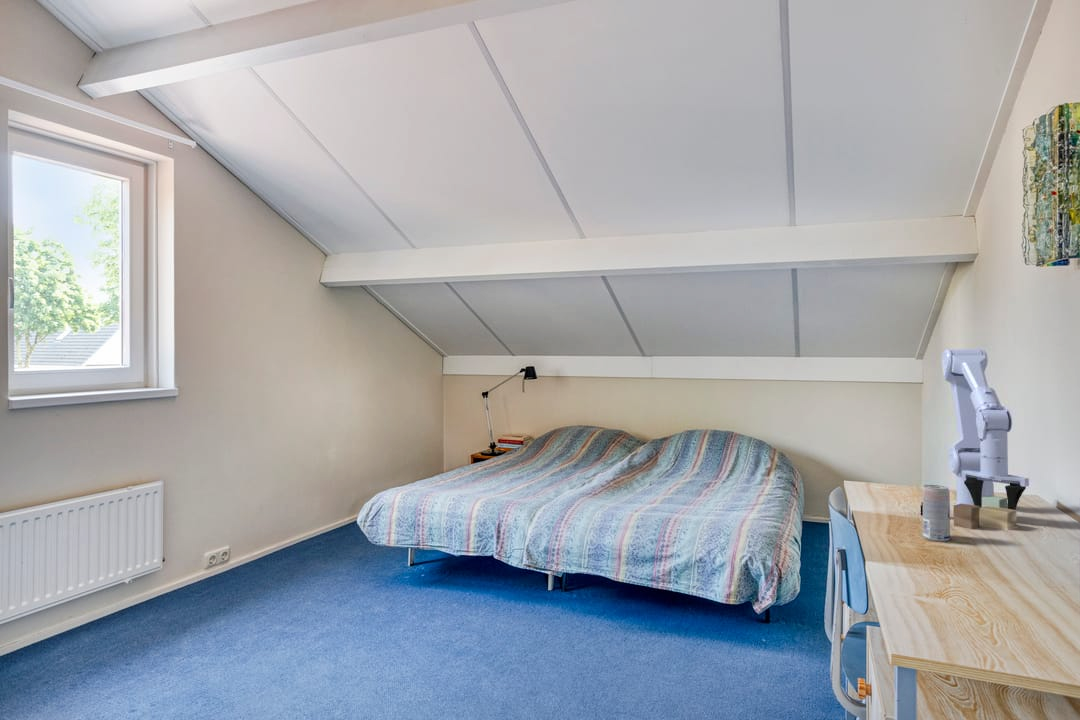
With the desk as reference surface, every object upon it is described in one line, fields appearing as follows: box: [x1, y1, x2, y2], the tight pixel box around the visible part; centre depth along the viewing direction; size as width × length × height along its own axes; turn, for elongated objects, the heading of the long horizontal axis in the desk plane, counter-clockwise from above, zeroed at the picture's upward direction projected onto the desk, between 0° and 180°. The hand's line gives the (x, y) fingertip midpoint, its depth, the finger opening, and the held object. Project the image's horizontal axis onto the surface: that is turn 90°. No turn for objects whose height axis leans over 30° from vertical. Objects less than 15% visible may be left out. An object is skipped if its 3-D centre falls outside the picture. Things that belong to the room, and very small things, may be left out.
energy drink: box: [922, 484, 951, 543], centre depth 153 cm, size 5×5×12 cm
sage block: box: [982, 495, 1008, 509], centre depth 168 cm, size 4×4×6 cm
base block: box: [980, 506, 1018, 531], centre depth 161 cm, size 4×6×4 cm
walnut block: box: [952, 503, 981, 530], centre depth 162 cm, size 4×4×6 cm
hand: (994, 510), depth 168 cm, fingers open, 7 cm apart
